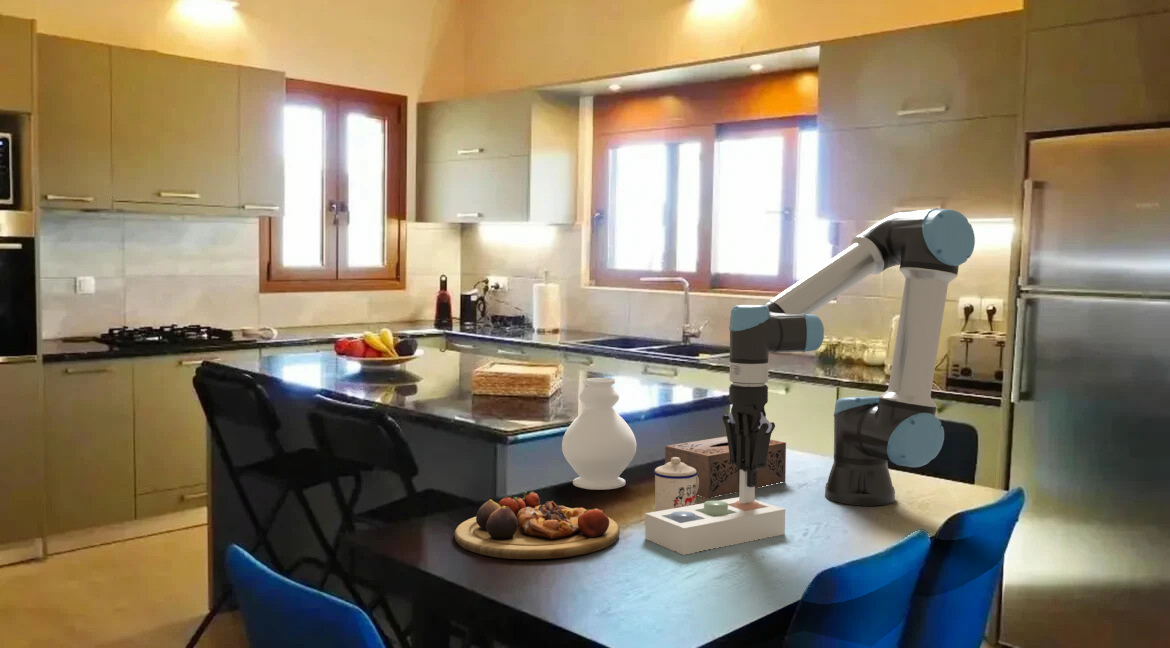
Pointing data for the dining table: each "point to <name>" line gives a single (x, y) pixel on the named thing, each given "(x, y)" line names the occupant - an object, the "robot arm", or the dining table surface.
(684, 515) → the button slate
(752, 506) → the button terracotta
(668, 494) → the teacup with lid
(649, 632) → the dining table surface
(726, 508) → the button sage
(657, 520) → the tray
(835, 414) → the robot arm
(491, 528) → the wooden plate with food
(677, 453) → the tissue box cover
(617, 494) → the dining table surface
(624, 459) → the decorative vase
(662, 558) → the dining table surface
